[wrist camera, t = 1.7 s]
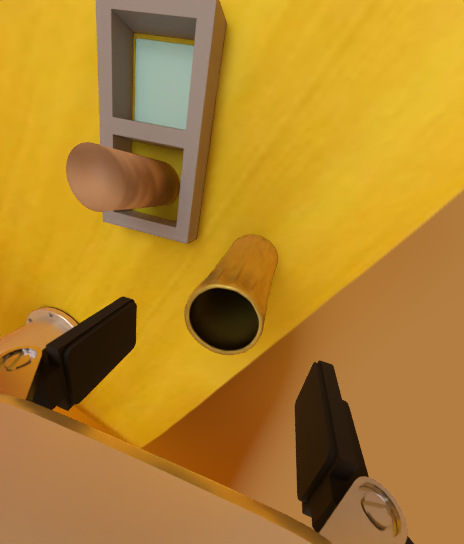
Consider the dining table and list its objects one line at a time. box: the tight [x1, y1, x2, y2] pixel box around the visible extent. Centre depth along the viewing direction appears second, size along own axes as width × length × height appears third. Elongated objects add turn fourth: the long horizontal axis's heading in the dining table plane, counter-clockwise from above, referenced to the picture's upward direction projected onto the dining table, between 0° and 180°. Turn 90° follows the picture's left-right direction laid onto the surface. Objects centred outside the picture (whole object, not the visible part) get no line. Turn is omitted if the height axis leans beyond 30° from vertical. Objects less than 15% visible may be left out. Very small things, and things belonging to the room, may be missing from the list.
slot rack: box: [96, 0, 226, 244], centre depth 23 cm, size 20×11×3 cm, turn 168°
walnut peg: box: [66, 142, 180, 212], centre depth 21 cm, size 5×5×10 cm
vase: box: [185, 235, 277, 355], centre depth 20 cm, size 6×6×14 cm
